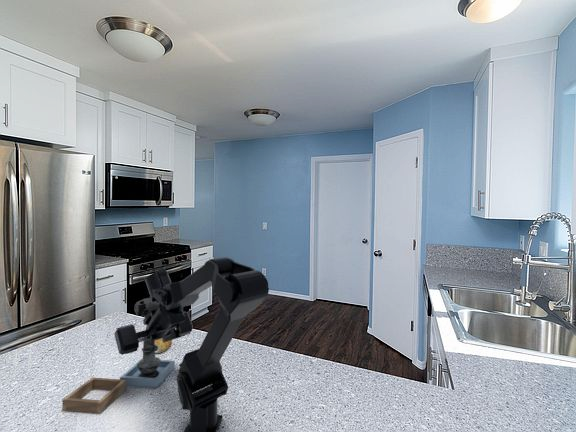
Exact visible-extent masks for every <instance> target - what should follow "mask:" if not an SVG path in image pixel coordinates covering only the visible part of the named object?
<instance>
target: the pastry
mask: <svg viewBox="0 0 576 432" xmlns="http://www.w3.org/2000/svg"><path fill="white" fill-rule="evenodd" d="M162 339H163V338H162ZM162 339H158V340H155V346H156V349H155V354H162V353H164V352H166V351H167V350H168V349H169V348H170V347H171V345H172V344H173V343H172V341H173V340H170V341H167V342H164V343H163V340H162Z"/></svg>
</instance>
